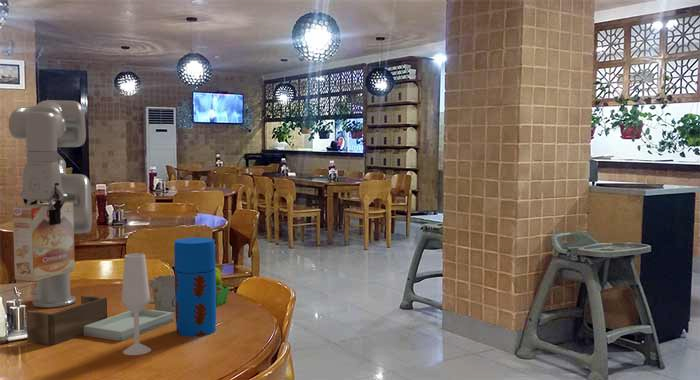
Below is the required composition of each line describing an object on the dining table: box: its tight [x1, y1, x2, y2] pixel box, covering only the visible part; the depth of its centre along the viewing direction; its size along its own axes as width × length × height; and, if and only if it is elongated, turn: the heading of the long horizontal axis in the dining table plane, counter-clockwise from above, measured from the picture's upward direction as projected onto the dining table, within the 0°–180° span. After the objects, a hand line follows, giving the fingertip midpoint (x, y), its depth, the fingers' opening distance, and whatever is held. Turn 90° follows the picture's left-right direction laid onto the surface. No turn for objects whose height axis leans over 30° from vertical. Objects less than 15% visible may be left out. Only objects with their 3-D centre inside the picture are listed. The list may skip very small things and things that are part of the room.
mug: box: [148, 275, 176, 313], centre depth 205 cm, size 8×13×10 cm, turn 78°
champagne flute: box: [121, 253, 152, 356], centre depth 166 cm, size 7×7×24 cm
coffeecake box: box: [12, 202, 76, 282], centre depth 182 cm, size 15×7×20 cm, turn 159°
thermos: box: [173, 237, 217, 338], centre depth 183 cm, size 11×11×25 cm
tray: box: [83, 308, 174, 342], centre depth 186 cm, size 13×21×2 cm, turn 156°
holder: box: [25, 295, 108, 347], centre depth 180 cm, size 8×19×8 cm, turn 156°
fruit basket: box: [215, 266, 231, 307], centre depth 215 cm, size 11×9×11 cm
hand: (44, 222), depth 182 cm, fingers closed on coffeecake box, 7 cm apart
